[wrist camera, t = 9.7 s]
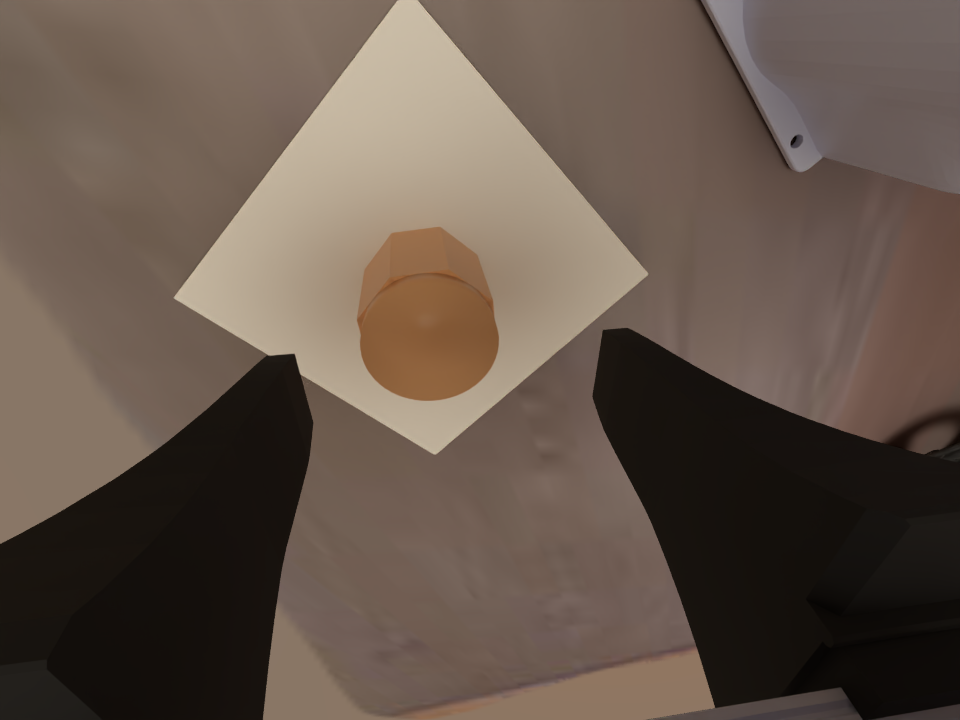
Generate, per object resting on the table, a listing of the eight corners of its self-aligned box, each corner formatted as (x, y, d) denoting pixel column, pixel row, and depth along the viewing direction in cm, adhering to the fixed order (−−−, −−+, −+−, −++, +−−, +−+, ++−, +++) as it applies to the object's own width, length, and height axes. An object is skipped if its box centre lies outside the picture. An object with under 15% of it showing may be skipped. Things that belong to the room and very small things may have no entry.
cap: (473, 222, 19) (494, 273, 15) (483, 322, 22) (503, 390, 17) (356, 237, 19) (344, 294, 15) (380, 337, 21) (375, 410, 17)
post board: (639, 265, 22) (691, 315, 18) (433, 442, 27) (439, 513, 23) (406, -10, 15) (408, -25, 12) (182, 287, 20) (128, 349, 16)
